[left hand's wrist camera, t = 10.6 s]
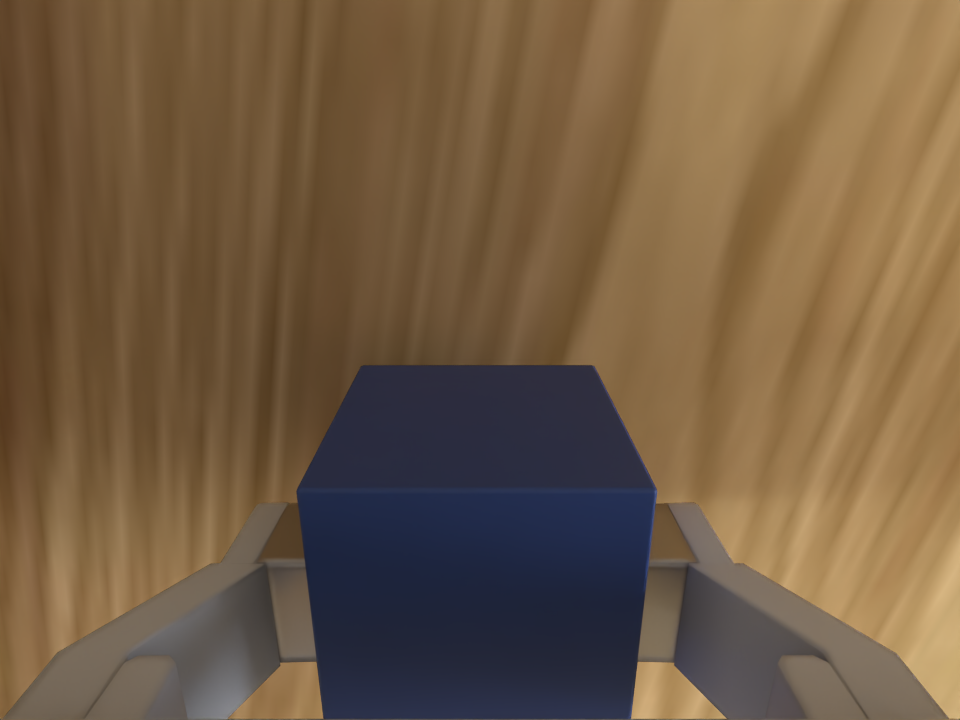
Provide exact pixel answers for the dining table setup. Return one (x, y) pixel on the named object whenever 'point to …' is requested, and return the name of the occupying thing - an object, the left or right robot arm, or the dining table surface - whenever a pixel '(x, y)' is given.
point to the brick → (477, 546)
